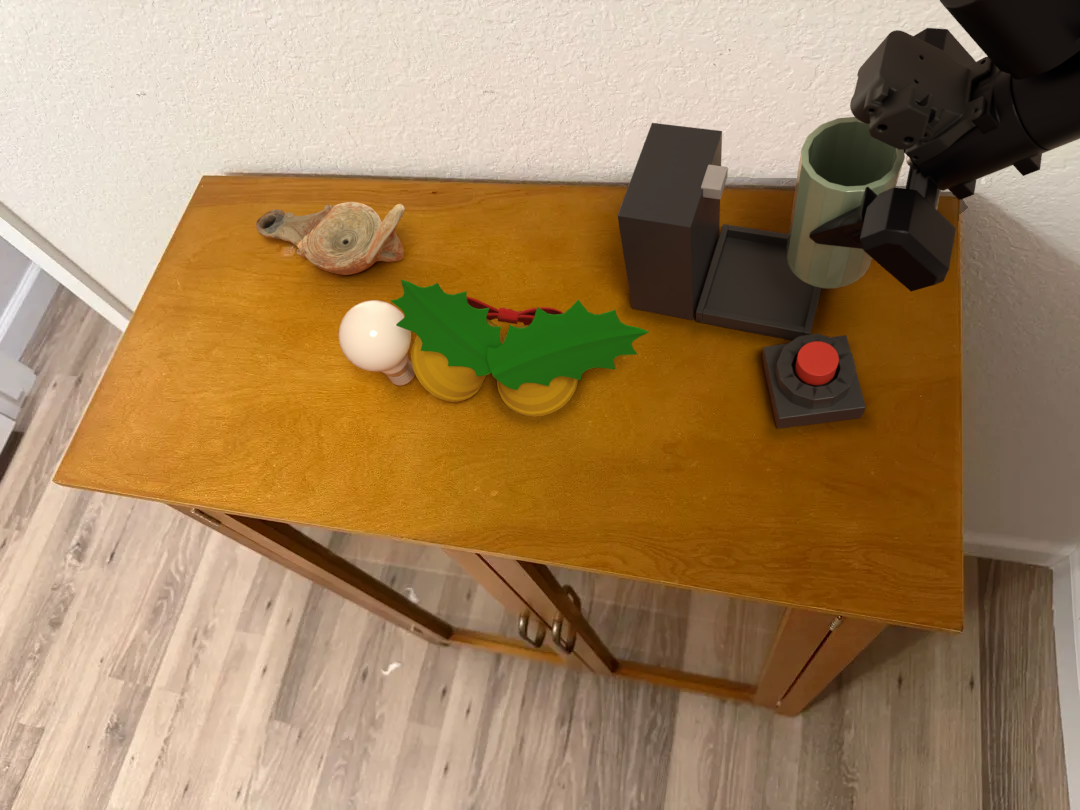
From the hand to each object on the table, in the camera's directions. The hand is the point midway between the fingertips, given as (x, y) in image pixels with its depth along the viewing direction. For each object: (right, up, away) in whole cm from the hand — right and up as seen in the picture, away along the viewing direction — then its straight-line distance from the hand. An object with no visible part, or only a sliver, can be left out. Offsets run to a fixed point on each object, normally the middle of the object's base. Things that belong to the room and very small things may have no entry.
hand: (822, 200), depth 59 cm
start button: (+1, -13, +5) cm, 14 cm away
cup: (+3, -3, +5) cm, 7 cm away
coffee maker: (-4, -4, +14) cm, 15 cm away
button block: (+2, -14, +8) cm, 16 cm away
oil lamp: (-43, +1, +25) cm, 49 cm away
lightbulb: (-35, -13, +17) cm, 41 cm away
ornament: (-22, -13, +14) cm, 29 cm away
